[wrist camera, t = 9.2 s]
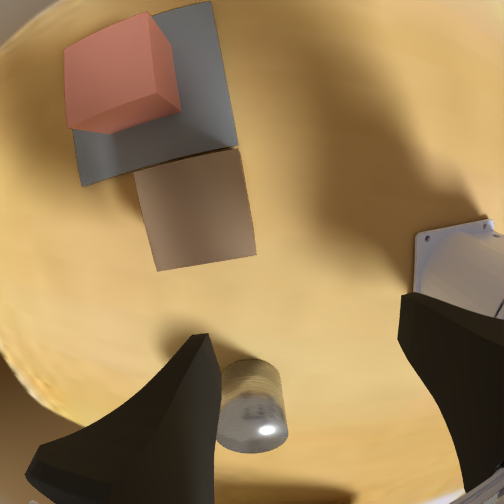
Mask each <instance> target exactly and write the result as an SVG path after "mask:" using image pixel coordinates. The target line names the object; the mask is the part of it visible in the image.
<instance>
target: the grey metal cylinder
mask: <svg viewBox="0 0 504 504" xmlns="http://www.w3.org/2000/svg"><path fill="white" fill-rule="evenodd" d="M287 437H288V428H287V421H286V414H285V407H284V400H283V393H282V386H281V379H280V374H279V372H278V371H277V369H276V368H275V367H274V366H272V365H271V364H269V363H267V362H265V361H262V360H256V359H245V360H240V361H237V362H234V363H232V364H231V365H229V366H228V367H227V368H226V369H225V370H224V371H223V373H222V400H221V407H220V414H219V421H218V428H217V435H216V440H217V441H218V442H219V443H220V444H221V445H222V446H223V447H225V448H227V449H229V450H232V451H235V452H240V453H262V452H267V451H270V450H273V449H275V448H277V447H279V446H280V445H282V444H283V443H284V442H285V441H286V439H287Z"/></svg>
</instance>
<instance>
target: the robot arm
mask: <svg viewBox="0 0 504 504" xmlns="http://www.w3.org/2000/svg"><path fill="white" fill-rule="evenodd" d="M483 225H484V226H483ZM426 236H427V240H426V241H425V237H426ZM397 340H398V342H399V344H400V346H401V348H402V350H403V352H404V354H405V356H406V358H407V359H408V361H409V362H410V364H411V365H412V367H413V368H414V370H415V371H416V373H417V374H418V376H419V377H420V379H421V380H422V381H423V383H424V384H425V386H426V387H427V389H428V390H429V392H430V393H431V395H432V396H433V398H434V400H435V401H436V403H437V405H438V407H439V409H440V411H441V413H442V415H443V417H444V420H445V422H446V424H447V427H448V429H449V432H450V434H451V437H452V440H453V443H454V446H455V449H456V452H457V456H458V459H459V463H460V468H461V472H462V477H463V483H464V490H465V492H466V494H465V495H463V496H461V497H460V498H458V499H456V500H455V501H453V502H451V503H449V504H483V503H484V502H486V501H487V500H489V499H490V498H491V497H493V496H494V495H495V494H497V493H498V492H499V491H500V492H499V494H498V498H497V500H496V501H495V502H494V503H493V504H504V235H503V234H500V233H498V232H495V231H494V222H493V220H492V219H485V220H480V221H475V222H470V223H465V224H460V225H455V226H450V227H444V228H439V229H434V230H429V231H424V232H420V233H418V234H417V235H416V237H415V266H414V285H413V292H412V293H409V294H405V295H401V308H400V319H399V329H398V338H397ZM221 400H222V374H221V371H220V368H219V365H218V362H217V359H216V356H215V353H214V350H213V347H212V344H211V340H210V337H209V334H208V333H206V334H198V335H192V336H191V337H190V338H189V339H188V340H187V341H186V342H185V343H184V345H183V346H182V347H181V348H180V349H179V350H178V351H177V353H176V354H175V355H174V356H173V357H172V358H171V359H170V361H169V362H168V363H167V364H166V365H165V366H164V367H163V368H162V369H161V370H160V371H159V372H158V373H157V374H156V375H155V376H154V377H153V378H152V379H151V380H150V381H149V382H148V383H147V384H146V385H145V386H144V387H143V388H142V389H141V390H140V391H139V392H137V393H136V394H135V395H134V396H133V397H131V398H130V399H129V400H128V401H126V402H125V403H124V404H122V405H121V406H120V407H118V408H117V409H115V410H114V411H112V412H111V413H109V414H108V415H106V416H104V417H103V418H101V419H100V420H98V421H96V422H95V423H93V424H91V425H89V426H87V427H85V428H83V429H81V430H79V431H77V432H75V433H73V434H70V435H68V436H65V437H63V438H60V439H57V440H54V441H51V442H49V443H46V444H42V445H40V446H39V448H38V450H37V452H36V453H35V455H34V457H33V459H32V461H31V463H30V465H29V467H28V469H27V471H26V473H25V476H26V479H27V480H28V482H29V483H30V484H31V485H32V486H33V487H35V488H36V489H37V490H38V491H39V492H41V493H42V494H43V495H45V496H46V497H47V498H49V499H50V500H51V501H53V502H54V503H56V504H214V451H215V442H216V435H217V428H218V421H219V414H220V407H221ZM29 504H39V503H37V502H35V501H33V500H32V501H30V503H29Z"/></svg>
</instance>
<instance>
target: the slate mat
mask: <svg viewBox="0 0 504 504" xmlns="http://www.w3.org/2000/svg"><path fill="white" fill-rule="evenodd" d="M151 17H152V18H153V19H154V21H155V22H156V24H157V25H158V27H159V28H160V30H161V31H162V32H163V34H164V35H165V37H166V38H167V40H168V41H169V43H170V44H171V46H172V53H173V60H174V67H175V74H176V80H177V86H178V93H179V99H180V105H181V111H182V112H179V113H176V114H172V115H168V116H165V117H161V118H158V119H155V120H151V121H148V122H145V123H142V124H139V125H136V126H133V127H130V128H127V129H124V130H121V131H118V132H116V133H113V134H104V133H98V132H91V131H84V130H77V129H73V137H74V144H75V151H76V158H77V164H78V170H79V175H80V180H81V185H82V187H85V186H88V185H91V184H93V183H96V182H99V181H102V180H105V179H108V178H111V177H114V176H117V175H121V174H124V173H127V172H130V171H134V170H137V169H140V168H144V167H147V166H151V165H154V164H158V163H162V162H166V161H170V160H173V159H177V158H181V157H186V156H190V155H194V154H199V153H203V152H208V151H212V150H217V149H222V148H227V147H232V146H237V145H238V140H237V135H236V129H235V124H234V119H233V113H232V108H231V103H230V98H229V92H228V87H227V82H226V77H225V71H224V66H223V61H222V56H221V51H220V45H219V40H218V35H217V30H216V25H215V20H214V15H213V10H212V5H211V1H208V2H203V3H198V4H194V5H190V6H185V7H182V8H178V9H174V10H171V11H167V12H164V13H160V14H157V15H154V16H151Z"/></svg>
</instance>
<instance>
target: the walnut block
mask: <svg viewBox="0 0 504 504" xmlns="http://www.w3.org/2000/svg"><path fill="white" fill-rule="evenodd" d="M133 173H134V178H135V183H136V188H137V193H138V198H139V202H140V207H141V211H142V216H143V220H144V224H145V228H146V232H147V236H148V240H149V244H150V248H151V251H152V255H153V259H154V262H155V266H156V269H157V272H158V271H164V270H170V269H176V268H182V267H188V266H194V265H201V264H207V263H213V262H219V261H225V260H231V259H237V258H243V257H249V256H254V255H257V254H256V245H255V235H254V228H253V222H252V217H251V211H250V205H249V200H248V194H247V188H246V182H245V177H244V171H243V166H242V160H241V154H240V152H239V150H238V148H237V149H231V150H226V151H221V152H215V153H211V154H206V155H201V156H196V157H192V158H187V159H183V160H179V161H175V162H171V163H167V164H163V165H159V166H155V167H151V168H147V169H144V170H140V171H137V172H133Z"/></svg>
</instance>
